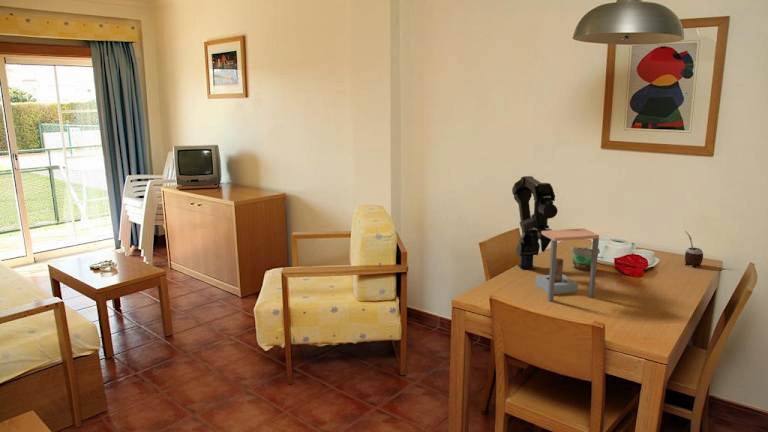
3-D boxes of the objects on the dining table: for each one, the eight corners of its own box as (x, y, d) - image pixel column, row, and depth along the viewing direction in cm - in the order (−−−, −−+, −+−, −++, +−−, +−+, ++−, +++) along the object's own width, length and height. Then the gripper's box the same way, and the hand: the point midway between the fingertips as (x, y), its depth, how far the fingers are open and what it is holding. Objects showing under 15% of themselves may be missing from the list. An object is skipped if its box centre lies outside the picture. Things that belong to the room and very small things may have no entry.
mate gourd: (702, 269, 236) (706, 236, 233) (682, 266, 240) (686, 234, 236) (700, 264, 243) (704, 232, 240) (681, 262, 246) (685, 231, 243)
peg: (547, 287, 217) (549, 259, 214) (555, 285, 219) (556, 257, 216) (556, 290, 213) (558, 262, 210) (563, 288, 215) (565, 260, 213)
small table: (528, 284, 220) (531, 225, 214) (569, 281, 223) (573, 223, 218) (550, 301, 202) (554, 238, 196) (594, 297, 205) (599, 235, 199)
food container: (567, 269, 238) (569, 248, 236) (569, 265, 243) (571, 244, 241) (597, 273, 232) (598, 251, 230) (598, 269, 238) (600, 248, 235)
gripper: (515, 208, 230) (513, 243, 234) (529, 218, 212) (527, 255, 216) (540, 208, 231) (538, 242, 235) (556, 217, 213) (554, 254, 217)
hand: (538, 248), depth 225 cm, fingers open, 9 cm apart
